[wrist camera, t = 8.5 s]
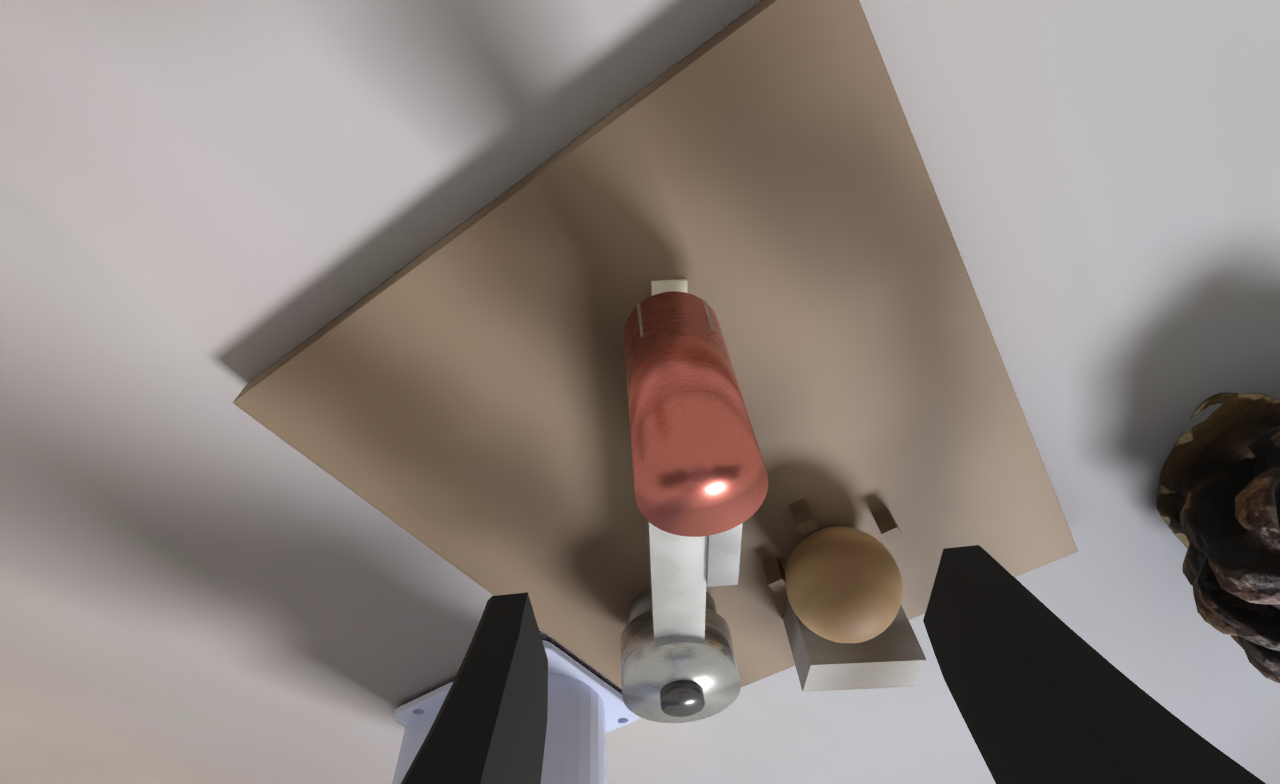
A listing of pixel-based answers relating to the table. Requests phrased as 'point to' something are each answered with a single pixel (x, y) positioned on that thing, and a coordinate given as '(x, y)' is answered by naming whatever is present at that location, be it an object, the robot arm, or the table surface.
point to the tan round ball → (843, 584)
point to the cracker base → (754, 336)
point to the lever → (686, 506)
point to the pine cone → (1231, 520)
